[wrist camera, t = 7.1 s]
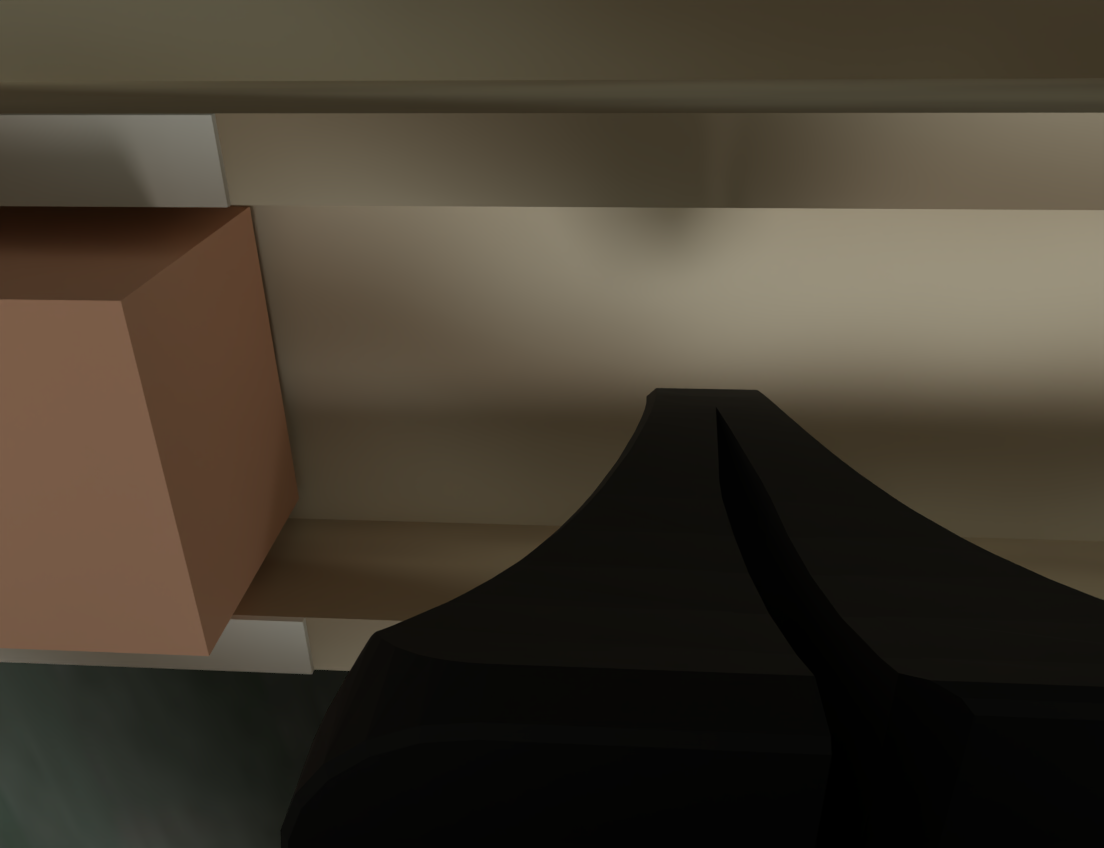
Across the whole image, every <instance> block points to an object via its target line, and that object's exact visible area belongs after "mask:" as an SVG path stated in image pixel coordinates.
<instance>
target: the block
mask: <svg viewBox="0 0 1104 848" xmlns="http://www.w3.org/2000/svg"><path fill="white" fill-rule="evenodd" d="M298 500H299V495H298V489H297V483H296V477H295V471H294V465H293V460H292V454H291V448H290V442H289V436H288V430H287V424H286V418H285V412H284V406H283V401H282V395H281V389H280V383H279V377H278V371H277V365H276V359H275V353H274V347H273V342H272V336H271V330H270V324H269V318H268V312H267V306H266V300H265V294H264V288H263V283H262V277H261V271H260V265H259V259H258V253H257V247H256V241H255V235H254V229H253V224H252V218H251V212H250V207H247V206H229V207H64V206H0V648H10V649H36V650H62V651H88V652H114V653H140V654H166V655H192V656H210V654H211V652H212V650H213V649H214V647H215V645H216V643H217V642H218V640H219V638H220V636H221V635H222V633H223V631H224V629H225V628H226V626H227V624H228V622H229V621H230V619H231V617H232V615H233V613H234V612H235V610H236V608H237V606H238V605H239V603H240V601H241V599H242V598H243V596H244V594H245V592H246V591H247V589H248V587H249V585H250V584H251V582H252V580H253V578H254V577H255V575H256V573H257V571H258V570H259V568H260V566H261V564H262V563H263V561H264V559H265V557H266V556H267V554H268V552H269V550H270V549H271V547H272V545H273V543H274V542H275V540H276V538H277V536H278V535H279V533H280V531H281V529H282V528H283V526H284V524H285V522H286V521H287V519H288V517H289V515H290V514H291V512H292V510H293V508H294V507H295V505H296V503H297V501H298Z"/></svg>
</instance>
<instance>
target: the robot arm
mask: <svg viewBox="0 0 1104 848" xmlns="http://www.w3.org/2000/svg"><path fill="white" fill-rule="evenodd" d="M281 848H1104V600H1102V599H1099V598H1097V597H1094V596H1091V595H1089V594H1086V593H1084V592H1081V591H1079V590H1076V589H1074V588H1071V587H1069V586H1066V585H1064V584H1061V583H1059V582H1056V581H1054V580H1051V579H1049V578H1046V577H1044V576H1042V575H1040V574H1038V573H1035V572H1033V571H1031V570H1029V569H1027V568H1024V567H1022V566H1020V565H1018V564H1015V563H1013V562H1011V561H1009V560H1007V559H1004V558H1002V557H1000V556H998V555H995V554H993V553H991V552H989V551H987V550H985V549H983V548H981V547H979V546H977V545H975V544H973V543H971V542H969V541H967V540H965V539H964V538H962V537H960V536H958V535H956V534H955V533H953V532H951V531H949V530H948V529H946V528H944V527H942V526H940V525H939V524H937V523H935V522H933V521H932V520H930V519H928V518H926V517H925V516H923V515H921V514H919V513H917V512H916V511H914V510H913V509H911V508H909V507H908V506H906V505H905V504H903V503H901V502H900V501H898V500H897V499H895V498H894V497H892V496H891V495H889V494H888V493H887V492H885V491H884V490H882V489H881V488H879V487H878V486H877V485H875V484H874V483H872V482H871V481H869V480H868V479H866V478H865V477H864V476H862V475H861V474H859V473H858V472H857V471H855V470H854V469H853V468H851V467H850V466H849V465H847V464H846V463H845V462H843V461H842V460H841V459H840V458H838V457H837V456H836V455H835V454H833V453H832V452H831V451H829V450H828V449H827V448H826V447H825V446H823V445H822V444H821V443H820V442H818V441H817V440H816V439H815V438H814V437H813V436H811V435H810V434H809V433H808V432H807V431H805V430H804V429H803V428H802V427H801V426H800V425H798V424H797V423H796V422H795V421H794V420H793V419H792V418H790V417H789V416H788V415H787V414H786V413H785V412H784V411H782V410H781V409H780V408H779V407H778V406H777V405H776V404H774V403H773V402H772V401H771V400H770V399H769V398H767V397H766V396H765V395H764V394H762V393H761V392H760V391H758V390H744V389H688V388H656V389H654V390H653V391H652V392H651V393H650V394H649V395H647V396H646V406H645V410H644V412H643V415H642V417H641V420H640V422H639V424H638V426H637V428H636V430H635V432H634V434H633V435H632V437H631V439H630V440H629V442H628V444H627V445H626V447H625V449H624V450H623V452H622V454H621V455H620V457H619V459H618V460H617V462H616V463H615V464H614V466H613V467H612V468H611V470H610V471H609V472H608V474H607V475H606V476H605V478H604V479H603V480H602V482H601V483H600V484H599V486H598V487H597V488H596V490H595V491H594V492H593V493H592V494H591V496H590V497H589V498H588V499H587V500H586V501H585V502H584V504H583V505H582V506H581V507H580V508H579V509H578V510H577V511H576V512H575V513H574V514H573V515H572V516H571V517H570V518H569V519H568V520H567V521H566V522H565V523H564V524H563V525H562V526H561V527H560V528H559V529H558V530H557V531H556V532H555V533H553V534H552V535H551V536H550V537H549V538H547V539H546V540H545V541H544V542H543V543H541V544H540V545H539V546H538V547H537V548H535V549H534V550H533V551H532V552H530V553H529V554H528V555H527V556H525V557H524V558H523V559H521V560H520V561H518V562H517V563H515V564H514V565H512V566H511V567H509V568H508V569H506V570H504V571H503V572H501V573H500V574H498V575H496V576H495V577H493V578H492V579H490V580H488V581H486V582H484V583H483V584H481V585H479V586H477V587H475V588H474V589H472V590H470V591H468V592H466V593H464V594H462V595H460V596H458V597H456V598H454V599H452V600H450V601H448V602H446V603H444V604H442V605H439V606H437V607H435V608H432V609H430V610H428V611H425V612H423V613H421V614H418V615H416V616H414V617H411V618H409V619H407V620H404V621H402V622H400V623H397V624H395V625H393V626H390V627H387V628H385V629H382V630H379V631H376V632H375V633H374V634H373V635H372V636H371V637H370V638H369V640H368V642H367V643H366V645H365V646H364V648H363V650H362V651H361V653H360V655H359V656H358V658H357V660H356V661H355V663H354V665H353V666H352V668H351V670H350V671H349V673H348V675H347V676H346V678H345V680H344V682H343V684H342V685H341V687H340V689H339V691H338V693H337V694H336V696H335V698H334V700H333V701H332V703H331V705H330V706H329V708H328V710H327V712H326V714H325V716H324V718H323V720H322V723H321V725H320V727H319V729H318V731H317V733H316V735H315V738H314V740H313V743H312V746H311V748H310V751H309V754H308V756H307V759H306V762H305V765H304V768H303V770H302V773H301V776H300V779H299V781H298V784H297V787H296V790H295V792H294V795H293V798H292V801H291V803H290V806H289V809H288V812H287V814H286V817H285V820H284V823H283V825H282V828H281Z"/></svg>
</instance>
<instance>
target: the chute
mask: <svg viewBox="0 0 1104 848" xmlns="http://www.w3.org/2000/svg"><path fill="white" fill-rule="evenodd" d="M0 206H64V207H229V206H247V207H250V212H251V218H252V224H253V229H254V235H255V241H256V247H257V253H258V259H259V265H260V271H261V277H262V283H263V288H264V294H265V300H266V306H267V312H268V318H269V324H270V330H271V336H272V342H273V347H274V353H275V359H276V365H277V371H278V377H279V383H280V389H281V395H282V401H283V406H284V412H285V418H286V424H287V430H288V436H289V442H290V448H291V454H292V460H293V465H294V471H295V477H296V483H297V489H298V495H299V500H298V501H297V503H296V505H295V507H294V508H293V510H292V512H291V514H290V515H289V517H288V519H287V521H286V522H285V524H284V526H283V528H282V529H281V531H280V533H279V535H278V536H277V538H276V540H275V542H274V543H273V545H272V547H271V549H270V550H269V552H268V554H267V556H266V557H265V559H264V561H263V563H262V564H261V566H260V568H259V570H258V571H257V573H256V575H255V577H254V578H253V580H252V582H251V584H250V585H249V587H248V589H247V591H246V592H245V594H244V596H243V598H242V599H241V601H240V603H239V605H238V606H237V608H236V610H235V612H234V613H233V615H232V617H231V619H230V621H229V622H228V624H227V626H226V628H225V629H224V631H223V633H222V635H221V636H220V638H219V640H218V642H217V643H216V645H215V647H214V649H213V650H212V652H211V654H210V656H192V655H166V654H140V653H114V652H88V651H62V650H36V649H10V648H0V662H14V663H40V664H65V665H90V666H116V667H141V668H166V669H191V670H217V671H242V672H267V673H293V674H313V671H314V670H339V671H350V670H351V668H352V666H353V665H354V663H355V661H356V660H357V658H358V656H359V655H360V653H361V651H362V650H363V648H364V646H365V645H366V643H367V642H368V640H369V638H370V637H371V636H372V635H373V634H374V633H375V632H376V631H379V630H382V629H385V628H387V627H390V626H393V625H395V624H397V623H400V622H402V621H404V620H407V619H409V618H411V617H414V616H416V615H418V614H421V613H423V612H425V611H428V610H430V609H432V608H435V607H437V606H439V605H442V604H444V603H446V602H448V601H450V600H452V599H454V598H456V597H458V596H460V595H462V594H464V593H466V592H468V591H470V590H472V589H474V588H475V587H477V586H479V585H481V584H483V583H484V582H486V581H488V580H490V579H492V578H493V577H495V576H496V575H498V574H500V573H501V572H503V571H504V570H506V569H508V568H509V567H511V566H512V565H514V564H515V563H517V562H518V561H520V560H521V559H523V558H524V557H525V556H527V555H528V554H529V553H530V552H532V551H533V550H534V549H535V548H537V547H538V546H539V545H540V544H541V543H543V542H544V541H545V540H546V539H547V538H549V537H550V536H551V535H552V534H553V533H555V532H556V531H557V530H558V529H559V528H560V527H561V526H562V525H563V524H564V523H565V522H566V521H567V520H568V519H569V518H570V517H571V516H572V515H573V514H574V513H575V512H576V511H577V510H578V509H579V508H580V507H581V506H582V505H583V504H584V502H585V501H586V500H587V499H588V498H589V497H590V496H591V494H592V493H593V492H594V491H595V490H596V488H597V487H598V486H599V484H600V483H601V482H602V480H603V479H604V478H605V476H606V475H607V474H608V472H609V471H610V470H611V468H612V467H613V466H614V464H615V463H616V462H617V460H618V459H619V457H620V455H621V454H622V452H623V450H624V449H625V447H626V445H627V444H628V442H629V440H630V439H631V437H632V435H633V434H634V432H635V430H636V428H637V426H638V424H639V422H640V420H641V417H642V415H643V412H644V410H645V406H646V396H647V395H649V394H650V393H651V392H652V391H653V390H654V389H656V388H688V389H744V390H758V391H760V392H761V393H762V394H764V395H765V396H766V397H767V398H769V399H770V400H771V401H772V402H773V403H774V404H776V405H777V406H778V407H779V408H780V409H781V410H782V411H784V412H785V413H786V414H787V415H788V416H789V417H790V418H792V419H793V420H794V421H795V422H796V423H797V424H798V425H800V426H801V427H802V428H803V429H804V430H805V431H807V432H808V433H809V434H810V435H811V436H813V437H814V438H815V439H816V440H817V441H818V442H820V443H821V444H822V445H823V446H825V447H826V448H827V449H828V450H829V451H831V452H832V453H833V454H835V455H836V456H837V457H838V458H840V459H841V460H842V461H843V462H845V463H846V464H847V465H849V466H850V467H851V468H853V469H854V470H855V471H857V472H858V473H859V474H861V475H862V476H864V477H865V478H866V479H868V480H869V481H871V482H872V483H874V484H875V485H877V486H878V487H879V488H881V489H882V490H884V491H885V492H887V493H888V494H889V495H891V496H892V497H894V498H895V499H897V500H898V501H900V502H901V503H903V504H905V505H906V506H908V507H909V508H911V509H913V510H914V511H916V512H917V513H919V514H921V515H923V516H925V517H926V518H928V519H930V520H932V521H933V522H935V523H937V524H939V525H940V526H942V527H944V528H946V529H948V530H949V531H951V532H953V533H955V534H956V535H958V536H960V537H962V538H964V539H965V540H967V541H969V542H971V543H973V544H975V545H977V546H979V547H981V548H983V549H985V550H987V551H989V552H991V553H993V554H995V555H998V556H1000V557H1002V558H1004V559H1007V560H1009V561H1011V562H1013V563H1015V564H1018V565H1020V566H1022V567H1024V568H1027V569H1029V570H1031V571H1033V572H1035V573H1038V574H1040V575H1042V576H1044V577H1046V578H1049V579H1051V580H1054V581H1056V582H1059V583H1061V584H1064V585H1066V586H1069V587H1071V588H1074V589H1076V590H1079V591H1081V592H1084V593H1086V594H1089V595H1091V596H1094V597H1097V598H1099V599H1102V600H1104V0H0Z"/></svg>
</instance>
